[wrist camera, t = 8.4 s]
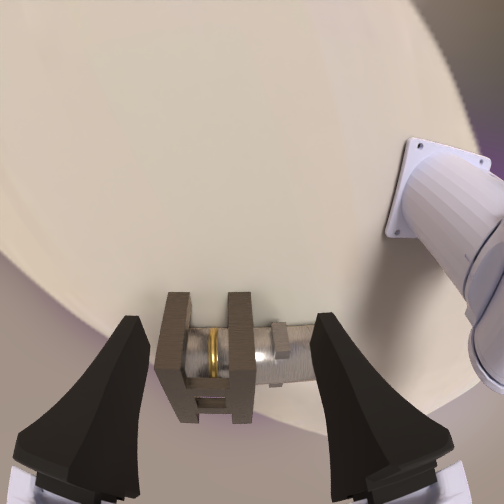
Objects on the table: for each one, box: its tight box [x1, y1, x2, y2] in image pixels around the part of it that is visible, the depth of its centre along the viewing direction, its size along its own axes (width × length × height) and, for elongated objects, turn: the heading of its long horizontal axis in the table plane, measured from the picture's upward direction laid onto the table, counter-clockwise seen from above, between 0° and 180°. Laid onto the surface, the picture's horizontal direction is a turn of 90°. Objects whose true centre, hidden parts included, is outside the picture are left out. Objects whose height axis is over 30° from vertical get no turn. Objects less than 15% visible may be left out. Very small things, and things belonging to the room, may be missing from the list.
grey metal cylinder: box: [185, 322, 316, 388], centre depth 24 cm, size 15×6×5 cm, turn 88°
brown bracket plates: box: [154, 292, 257, 424], centre depth 24 cm, size 7×11×7 cm, turn 178°
